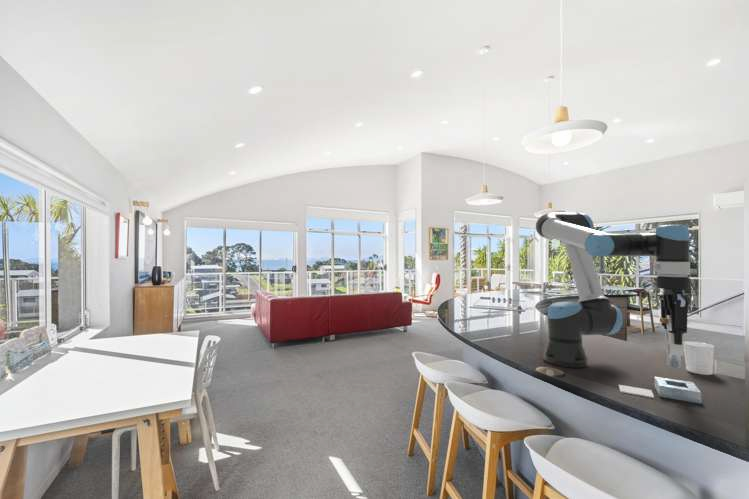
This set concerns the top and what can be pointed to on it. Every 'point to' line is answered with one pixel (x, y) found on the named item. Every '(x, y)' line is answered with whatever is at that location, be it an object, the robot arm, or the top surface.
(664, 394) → the block
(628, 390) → the mat
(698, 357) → the white cup
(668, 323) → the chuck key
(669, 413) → the top surface
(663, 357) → the top surface
